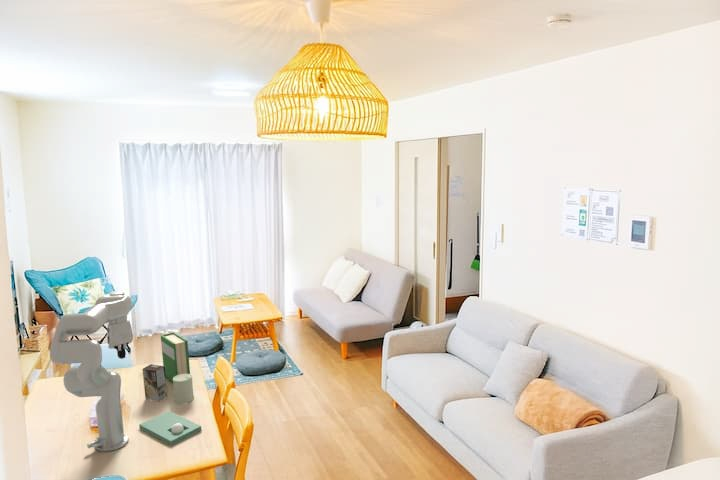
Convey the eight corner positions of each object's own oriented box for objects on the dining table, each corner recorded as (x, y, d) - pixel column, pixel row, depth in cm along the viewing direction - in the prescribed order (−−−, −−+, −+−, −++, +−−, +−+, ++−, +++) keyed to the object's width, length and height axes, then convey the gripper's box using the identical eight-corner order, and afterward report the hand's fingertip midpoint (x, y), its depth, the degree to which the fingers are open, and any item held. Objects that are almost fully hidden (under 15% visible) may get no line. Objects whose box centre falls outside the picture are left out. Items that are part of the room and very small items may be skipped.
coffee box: (168, 396, 266) (165, 366, 264) (159, 402, 260) (156, 371, 258) (154, 393, 270) (151, 363, 267) (144, 399, 264) (141, 368, 261)
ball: (172, 436, 226) (168, 433, 230) (183, 437, 228) (180, 433, 232) (175, 424, 226) (171, 421, 230) (186, 425, 229) (182, 422, 233)
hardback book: (190, 383, 281) (187, 340, 277) (177, 387, 276) (173, 343, 272) (177, 373, 294) (174, 332, 290) (164, 377, 289) (160, 335, 285)
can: (188, 404, 257) (186, 381, 255) (170, 402, 259) (168, 379, 257) (197, 395, 266) (195, 373, 264) (180, 394, 268) (178, 372, 266)
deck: (171, 445, 221) (170, 441, 221) (139, 428, 236) (139, 424, 235) (201, 430, 233) (201, 425, 233) (169, 414, 247) (169, 410, 247)
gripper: (105, 325, 230) (110, 365, 233) (138, 316, 242) (141, 354, 245) (97, 321, 234) (101, 361, 237) (129, 313, 246) (133, 350, 249)
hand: (121, 357), depth 241 cm, fingers closed
